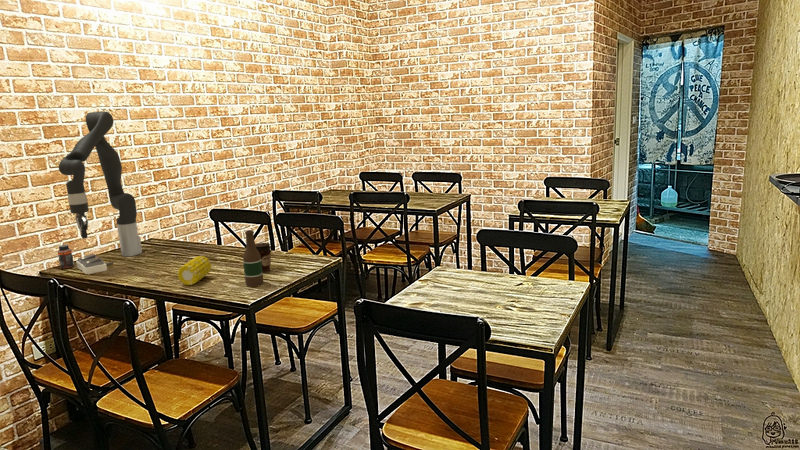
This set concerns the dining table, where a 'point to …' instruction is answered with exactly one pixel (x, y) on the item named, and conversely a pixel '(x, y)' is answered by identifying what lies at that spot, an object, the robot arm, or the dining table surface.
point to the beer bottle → (252, 262)
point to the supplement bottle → (65, 257)
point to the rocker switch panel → (92, 266)
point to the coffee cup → (264, 255)
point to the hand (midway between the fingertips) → (84, 237)
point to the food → (194, 270)
